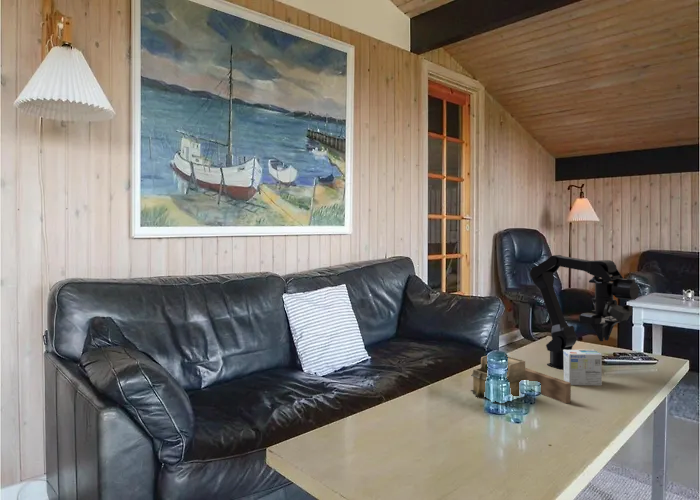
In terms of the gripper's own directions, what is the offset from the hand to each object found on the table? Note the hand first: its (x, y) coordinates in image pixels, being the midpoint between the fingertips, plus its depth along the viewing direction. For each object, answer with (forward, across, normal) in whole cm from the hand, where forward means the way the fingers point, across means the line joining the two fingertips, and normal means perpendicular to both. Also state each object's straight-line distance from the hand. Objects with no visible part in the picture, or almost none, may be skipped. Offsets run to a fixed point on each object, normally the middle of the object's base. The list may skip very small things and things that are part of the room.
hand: (603, 340), depth 169 cm
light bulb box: (+13, -11, 0) cm, 17 cm away
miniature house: (+13, -44, +5) cm, 46 cm away
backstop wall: (+13, -31, 0) cm, 34 cm away
